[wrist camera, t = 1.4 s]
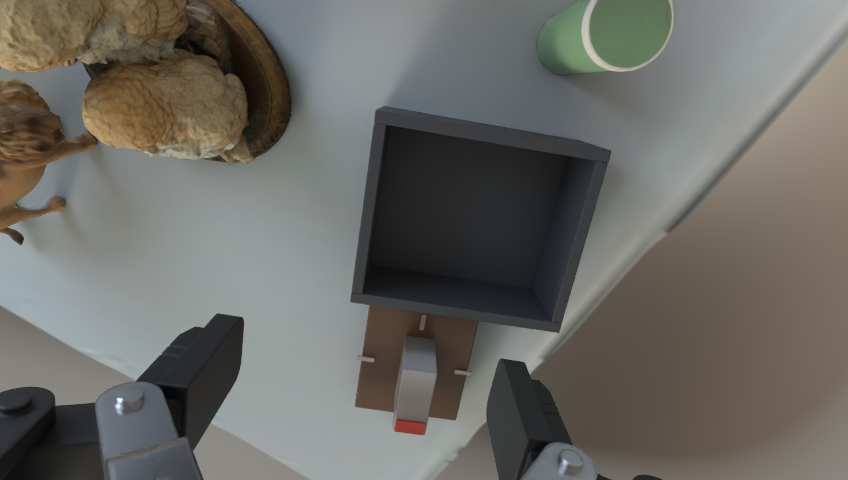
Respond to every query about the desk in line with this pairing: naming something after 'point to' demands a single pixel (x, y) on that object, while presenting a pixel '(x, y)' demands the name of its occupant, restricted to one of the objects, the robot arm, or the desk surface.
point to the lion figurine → (29, 151)
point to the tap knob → (415, 385)
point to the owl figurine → (159, 72)
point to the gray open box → (474, 219)
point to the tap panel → (386, 353)
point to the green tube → (605, 35)
